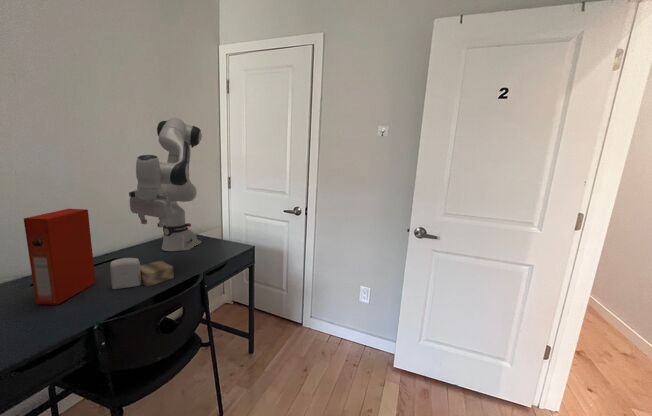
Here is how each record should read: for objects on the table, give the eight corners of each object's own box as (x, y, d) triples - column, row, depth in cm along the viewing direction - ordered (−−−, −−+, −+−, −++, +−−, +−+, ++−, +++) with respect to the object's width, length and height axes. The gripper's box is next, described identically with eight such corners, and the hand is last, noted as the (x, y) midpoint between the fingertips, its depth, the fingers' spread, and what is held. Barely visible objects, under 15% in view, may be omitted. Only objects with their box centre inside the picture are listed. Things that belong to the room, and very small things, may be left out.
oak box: (161, 272, 133) (161, 260, 132) (173, 279, 127) (173, 266, 126) (135, 279, 124) (135, 267, 123) (147, 287, 118) (146, 274, 117)
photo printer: (110, 290, 113) (108, 261, 111) (112, 285, 117) (110, 258, 115) (140, 286, 118) (139, 259, 116) (142, 282, 122) (140, 255, 119)
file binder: (35, 304, 101) (23, 217, 95) (75, 282, 118) (67, 208, 112) (58, 304, 101) (47, 219, 95) (95, 283, 118) (88, 209, 112)
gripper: (175, 195, 118) (176, 227, 121) (139, 190, 124) (141, 220, 127) (162, 197, 112) (164, 230, 115) (125, 192, 118) (128, 223, 121)
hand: (152, 225), depth 121 cm, fingers open, 8 cm apart
